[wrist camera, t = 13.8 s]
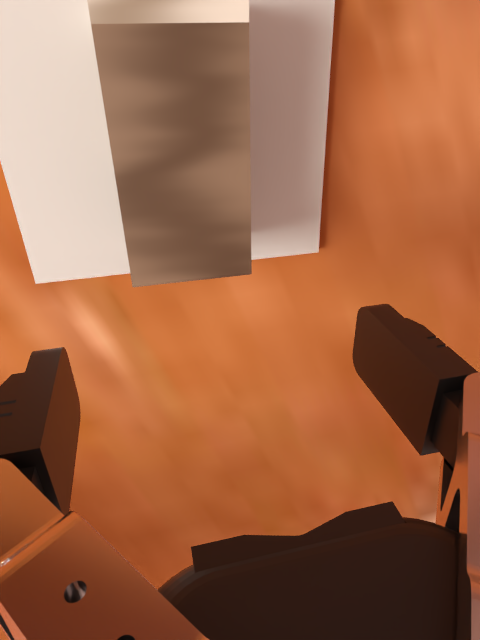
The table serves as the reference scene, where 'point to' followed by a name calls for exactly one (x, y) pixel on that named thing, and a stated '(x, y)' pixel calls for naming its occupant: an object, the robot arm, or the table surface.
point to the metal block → (178, 133)
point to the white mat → (94, 146)
